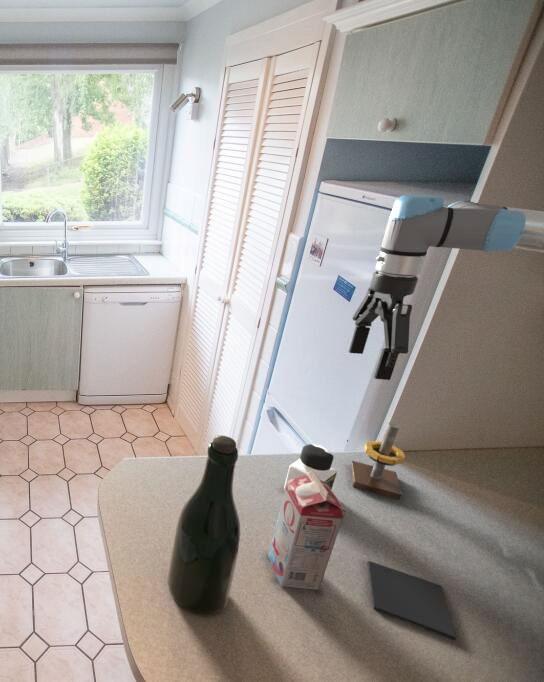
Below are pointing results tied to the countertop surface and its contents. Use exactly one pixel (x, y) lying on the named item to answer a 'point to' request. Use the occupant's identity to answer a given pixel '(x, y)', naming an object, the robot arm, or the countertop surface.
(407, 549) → the countertop surface
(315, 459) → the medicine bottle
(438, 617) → the rubber mat
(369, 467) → the peg stand
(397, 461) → the brass ring
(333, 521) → the juice carton
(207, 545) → the green wine bottle
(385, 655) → the countertop surface
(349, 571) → the countertop surface
